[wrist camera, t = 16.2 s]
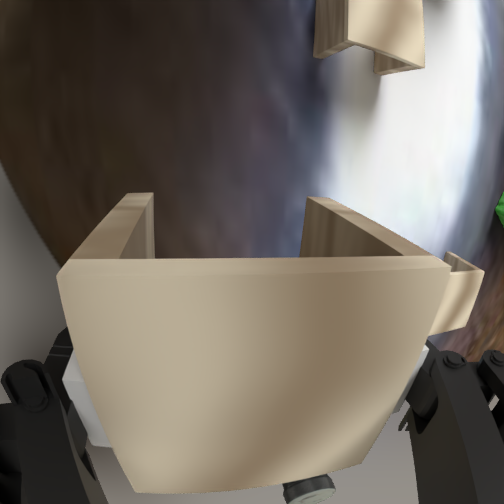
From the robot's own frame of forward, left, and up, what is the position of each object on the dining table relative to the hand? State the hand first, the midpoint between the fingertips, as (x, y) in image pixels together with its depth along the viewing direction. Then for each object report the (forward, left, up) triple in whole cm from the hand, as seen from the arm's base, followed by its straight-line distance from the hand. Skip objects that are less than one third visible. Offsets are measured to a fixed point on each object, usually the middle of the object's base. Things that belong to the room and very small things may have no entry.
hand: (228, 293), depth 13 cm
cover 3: (+24, +19, -17) cm, 35 cm away
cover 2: (-8, +22, -17) cm, 29 cm away
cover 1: (0, 0, 0) cm, 0 cm away
